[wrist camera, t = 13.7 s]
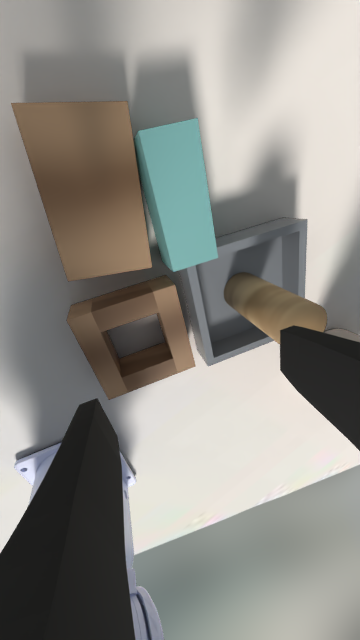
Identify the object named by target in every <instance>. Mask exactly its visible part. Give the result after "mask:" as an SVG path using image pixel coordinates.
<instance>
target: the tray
mask: <svg viewBox="0 0 360 640" xmlns="http://www.w3.org/2000/svg"><path fill="white" fill-rule="evenodd" d="M215 240H216V246H217V253H218V258H216V259H213V260H210V261H207V262H203V263H200V264H197V265H194V266H191V267H188V268H185V269H182V270H178V271H179V275H180V279H181V283H182V288H183V292H184V296H185V300H186V304H187V309H188V313H189V317H190V321H191V326H192V330H193V334H194V338H195V342H196V347H197V350H198V352H199V353H200V355H201V356H202V358H203V359H204V361H205V362H206V364H207V365H208V366H211V365H213V364H216V363H218V362H221V361H223V360H226V359H228V358H231V357H234V356H236V355H239V354H241V353H244V352H246V351H249V350H251V349H254V348H256V347H259V346H262V345H264V344H267V343H269V342H272V341H274V340H273V339H272V338H271V337H269V336H268V335H267V334H265V333H264V332H263V331H262V330H260V329H259V328H258V327H256V326H255V325H254V324H253V323H251V322H250V321H249V320H247V319H246V318H245V317H243V316H242V315H241V314H240V313H238V312H237V311H236V310H234V309H233V308H232V307H231V306H229V305H228V304H227V303H226V301H225V299H224V288H225V286H226V284H227V282H228V280H229V279H230V278H231V277H232V276H234V275H235V274H238V273H241V272H247V273H250V274H252V275H254V276H257V277H259V278H261V279H263V280H265V281H267V282H270V283H272V284H274V285H276V286H278V287H281V288H283V289H285V290H287V291H289V292H292V293H294V294H296V295H298V296H300V297H302V298H305V273H306V244H307V219H296V218H280V219H277V220H274V221H270V222H267V223H264V224H261V225H257V226H254V227H251V228H247V229H244V230H241V231H238V232H234V233H231V234H228V235H225V236H221V237H218V238H215Z"/></svg>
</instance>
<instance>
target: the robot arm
mask: <svg viewBox="0 0 360 640" xmlns="http://www.w3.org/2000/svg"><path fill="white" fill-rule="evenodd" d="M280 370H281V371H282V373H283V374H284V375H285V377H286V378H287V379H288V380H289V382H290V383H291V384H292V385H293V386H294V387H295V389H296V390H297V391H298V392H299V393H300V394H301V395H302V396H303V397H304V398H305V399H306V400H307V401H308V402H309V403H311V404H312V405H313V406H314V407H315V408H316V409H317V410H318V411H319V412H320V413H321V414H322V415H323V416H324V417H325V418H326V419H327V420H329V421H330V422H331V423H332V424H333V425H334V426H335V427H336V428H337V429H338V430H339V431H340V432H341V433H342V434H343V435H344V436H346V437H347V438H348V439H349V440H350V441H351V442H352V443H353V444H354V445H355V447H356V448H357V449H358V450H359V451H360V342H357V341H353V340H349V339H346V338H342V337H338V336H334V335H331V334H327V333H323V332H320V331H316V330H312V329H308V328H304V327H300V326H295V325H293V326H290V327H288V328H285V329H282V330H280ZM14 468H15V469H16V470H17V471H18V472H19V473H20V474H21V475H22V476H23V477H24V478H25V479H26V480H27V481H28V482H29V483H30V484H31V485H32V486H33V488H32V492H31V496H30V501H29V505H28V508H27V510H26V511H25V513H24V515H23V517H22V518H21V520H20V522H19V524H18V525H17V527H16V529H15V530H14V532H13V534H12V535H11V537H10V539H9V540H8V542H7V544H6V545H5V547H4V549H3V550H2V552H1V553H0V640H164V635H163V630H162V625H161V621H160V618H159V614H158V611H157V609H156V606H155V604H154V603H153V601H152V600H151V597H150V595H149V594H148V592H147V590H146V589H145V588H143V587H141V586H138V587H136V577H135V569H132V564H133V557H134V548H133V537H132V527H131V516H130V506H129V496H128V487H130V486H132V485H134V484H135V483H136V477H135V476H134V474H133V472H132V471H131V469H130V467H129V466H128V464H127V462H126V460H125V459H124V457H123V455H122V454H121V452H120V450H119V444H118V438H117V435H116V433H115V431H114V429H113V427H112V425H111V423H110V421H109V419H108V418H107V416H106V414H105V412H104V410H103V408H102V406H101V404H100V402H99V401H98V399H94V400H91V401H89V402H86V403H83V404H81V405H79V407H78V408H77V411H76V413H75V415H74V417H73V419H72V421H71V423H70V425H69V428H68V430H67V432H66V434H65V436H64V438H63V440H62V442H61V443H59V444H56V445H54V446H51V447H49V448H46V449H44V450H42V451H39V452H37V453H34V454H32V455H29V456H27V457H24V458H22V459H19V460H17V461H16V462H15V466H14Z"/></svg>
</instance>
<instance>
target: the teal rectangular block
mask: <svg viewBox="0 0 360 640" xmlns="http://www.w3.org/2000/svg"><path fill="white" fill-rule="evenodd" d="M133 142H134V149H135V155H136V162H137V168H138V172H139V176H140V179H141V183H142V187H143V191H144V194H145V198H146V202H147V206H148V209H149V213H150V217H151V221H152V224H153V228H154V232H155V236H156V240H157V243H158V247H159V251H160V255H161V258H162V262H163V263H164V264H165V265H166V266H167V267H169V268H170V269H171V270H172V271H173V272H175V271H178V270H182V269H185V268H188V267H191V266H194V265H197V264H200V263H203V262H207V261H210V260H213V259H216V258H218V253H217V246H216V240H215V233H214V226H213V219H212V213H211V206H210V199H209V192H208V186H207V179H206V172H205V165H204V159H203V152H202V145H201V138H200V131H199V125H198V118H195V119H190V120H186V121H181V122H177V123H172V124H168V125H163V126H158V127H154V128H149V129H145V130H140V131H138V133H137V135H136V137H135V138H134V140H133Z"/></svg>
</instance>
